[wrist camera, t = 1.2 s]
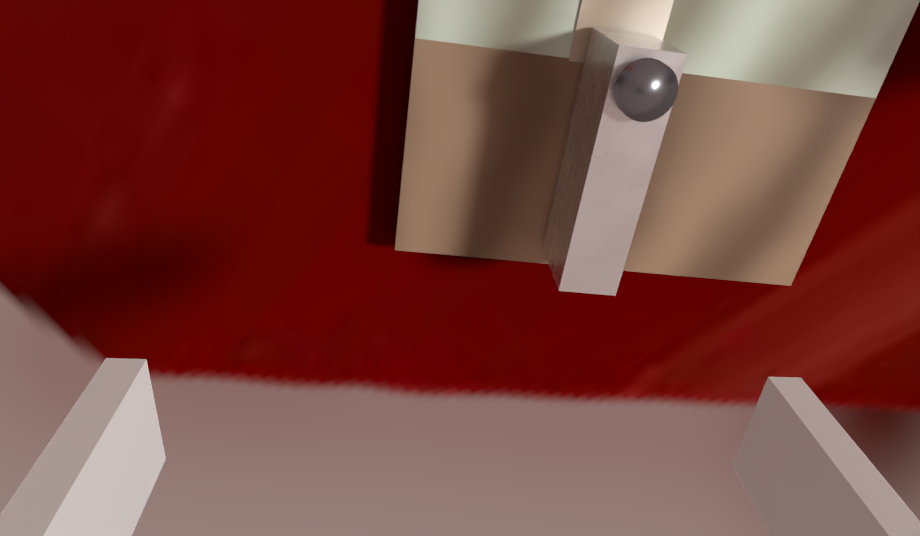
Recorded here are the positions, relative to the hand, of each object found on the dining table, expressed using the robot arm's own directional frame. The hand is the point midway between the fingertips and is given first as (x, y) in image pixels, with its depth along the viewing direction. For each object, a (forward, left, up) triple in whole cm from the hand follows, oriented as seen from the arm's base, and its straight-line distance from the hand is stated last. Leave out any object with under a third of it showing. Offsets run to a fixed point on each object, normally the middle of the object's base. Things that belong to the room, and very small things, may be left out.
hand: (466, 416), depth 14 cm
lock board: (+9, +5, -19) cm, 21 cm away
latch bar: (+7, +1, -17) cm, 19 cm away
